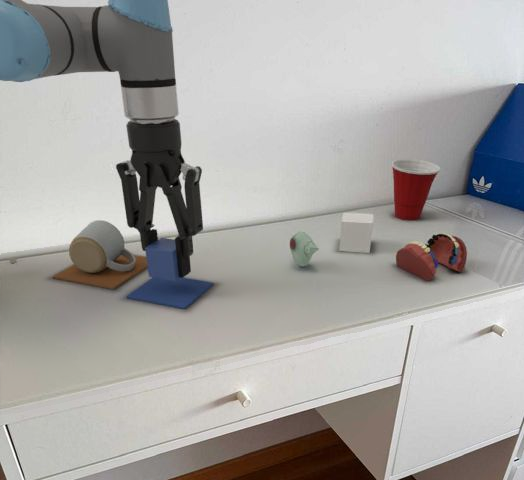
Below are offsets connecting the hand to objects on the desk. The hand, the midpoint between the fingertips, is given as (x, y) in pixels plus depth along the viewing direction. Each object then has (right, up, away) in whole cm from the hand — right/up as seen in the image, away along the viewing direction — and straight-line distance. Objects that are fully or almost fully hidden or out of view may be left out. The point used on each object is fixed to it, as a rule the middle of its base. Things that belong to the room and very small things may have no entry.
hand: (169, 271), depth 85 cm
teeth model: (+46, +2, +10) cm, 47 cm away
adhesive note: (+34, +8, +19) cm, 40 cm away
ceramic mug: (-13, +2, +10) cm, 17 cm away
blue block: (0, 0, 0) cm, 0 cm away
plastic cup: (+50, +18, +36) cm, 64 cm away
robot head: (+22, +2, +11) cm, 25 cm away
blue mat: (0, -3, +2) cm, 4 cm away
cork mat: (-13, +2, +10) cm, 17 cm away
